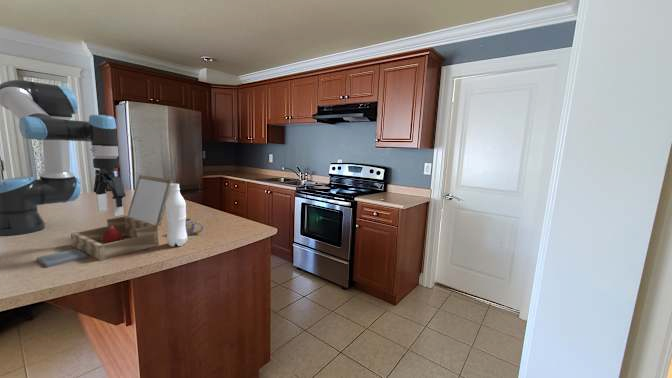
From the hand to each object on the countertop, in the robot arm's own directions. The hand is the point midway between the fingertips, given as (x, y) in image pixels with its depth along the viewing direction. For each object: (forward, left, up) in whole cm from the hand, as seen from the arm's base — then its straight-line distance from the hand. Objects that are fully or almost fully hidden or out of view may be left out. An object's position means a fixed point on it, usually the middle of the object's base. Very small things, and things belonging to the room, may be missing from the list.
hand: (110, 212), depth 106 cm
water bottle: (+18, +15, -14) cm, 27 cm away
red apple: (0, 0, -14) cm, 14 cm away
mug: (+9, +26, -14) cm, 31 cm away
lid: (0, +14, +4) cm, 14 cm away
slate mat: (+1, -15, -13) cm, 20 cm away
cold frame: (0, +1, -13) cm, 13 cm away
